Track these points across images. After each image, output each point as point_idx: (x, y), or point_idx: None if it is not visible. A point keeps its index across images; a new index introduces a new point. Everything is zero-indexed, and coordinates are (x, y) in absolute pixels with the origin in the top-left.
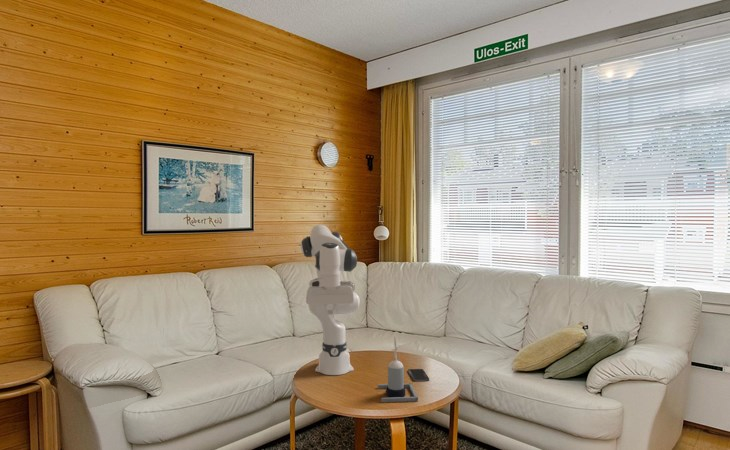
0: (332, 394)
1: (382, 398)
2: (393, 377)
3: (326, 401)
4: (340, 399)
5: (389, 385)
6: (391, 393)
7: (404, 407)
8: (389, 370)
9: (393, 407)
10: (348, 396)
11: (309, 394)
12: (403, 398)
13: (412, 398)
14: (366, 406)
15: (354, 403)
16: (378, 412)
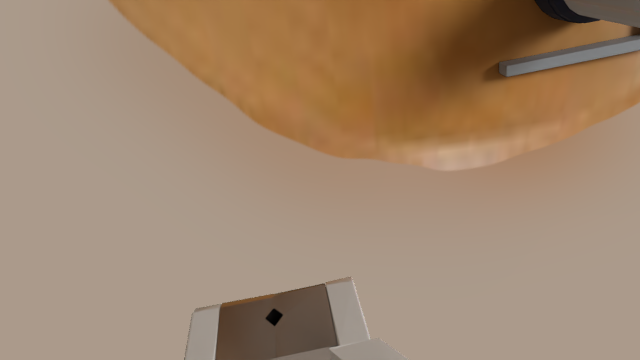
0: (265, 2)
1: (510, 74)
2: (623, 23)
3: (255, 92)
4: (315, 62)
5: (574, 2)
6: (560, 18)
7: (580, 110)
8: (631, 13)
9: (538, 116)
10: (349, 20)
11: (144, 16)
12: (599, 57)
13: (637, 49)
14: (433, 121)
15: (382, 98)
16: (476, 167)
